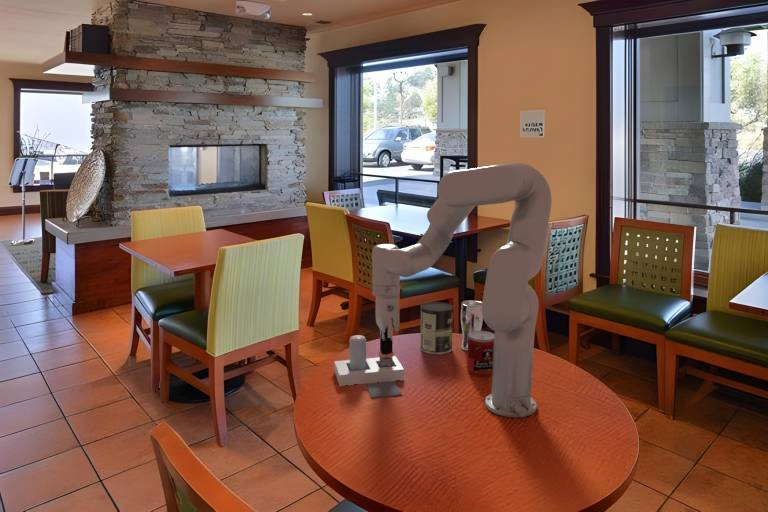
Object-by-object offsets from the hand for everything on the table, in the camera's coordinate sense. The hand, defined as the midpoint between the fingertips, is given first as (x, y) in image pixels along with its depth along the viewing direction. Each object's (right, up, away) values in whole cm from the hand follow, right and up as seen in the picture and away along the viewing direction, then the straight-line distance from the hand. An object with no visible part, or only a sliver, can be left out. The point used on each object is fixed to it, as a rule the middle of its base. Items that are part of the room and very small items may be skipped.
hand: (386, 352), depth 159 cm
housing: (-5, -7, 0) cm, 8 cm away
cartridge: (-8, -7, 0) cm, 10 cm away
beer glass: (+27, -3, +22) cm, 35 cm away
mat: (-1, -9, -9) cm, 12 cm away
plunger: (0, -6, +1) cm, 6 cm away
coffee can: (+16, -3, +21) cm, 27 cm away
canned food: (+27, -6, +3) cm, 28 cm away
